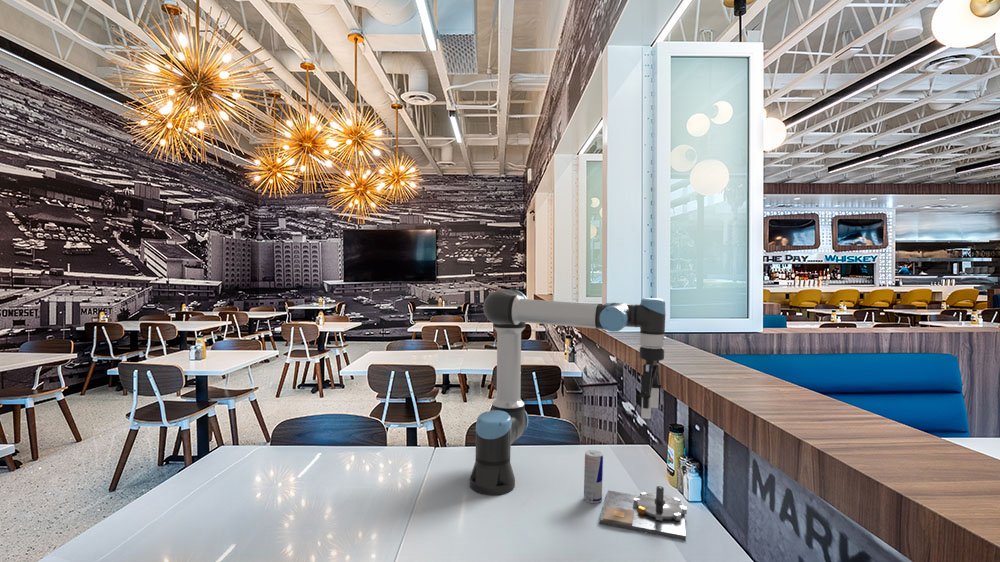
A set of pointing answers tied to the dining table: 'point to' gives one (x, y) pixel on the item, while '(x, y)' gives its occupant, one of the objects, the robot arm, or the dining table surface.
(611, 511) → the marked pad
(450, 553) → the dining table surface
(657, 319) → the robot arm
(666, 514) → the index wheel
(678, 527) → the base plate
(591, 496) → the beverage can
